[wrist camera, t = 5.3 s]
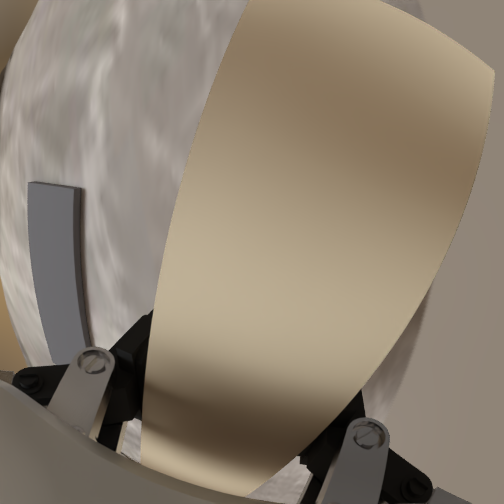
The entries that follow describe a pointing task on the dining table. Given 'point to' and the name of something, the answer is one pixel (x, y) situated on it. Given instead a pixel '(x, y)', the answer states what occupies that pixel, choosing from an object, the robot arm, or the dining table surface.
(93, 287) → the dining table surface
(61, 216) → the tool pad
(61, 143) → the dining table surface
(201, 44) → the dining table surface
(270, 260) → the grooved wooden block
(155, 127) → the dining table surface
